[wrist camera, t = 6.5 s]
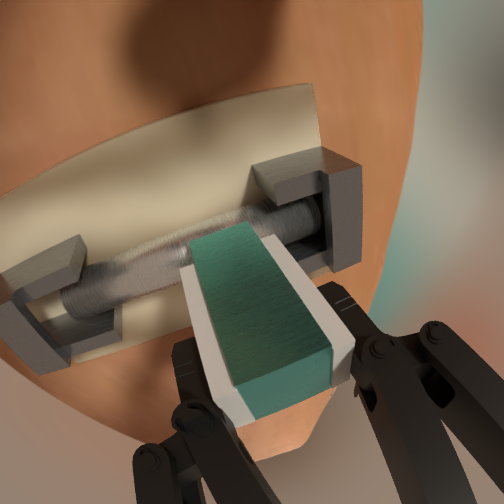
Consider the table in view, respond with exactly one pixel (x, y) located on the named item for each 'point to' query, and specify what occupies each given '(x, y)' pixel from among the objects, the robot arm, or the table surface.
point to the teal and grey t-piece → (229, 297)
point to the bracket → (58, 328)
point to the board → (155, 193)
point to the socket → (319, 204)
